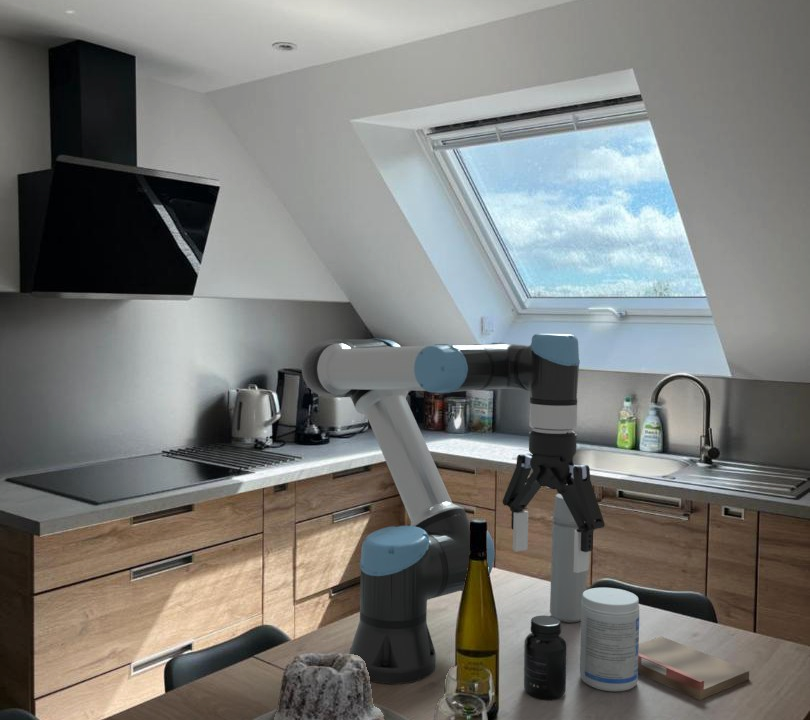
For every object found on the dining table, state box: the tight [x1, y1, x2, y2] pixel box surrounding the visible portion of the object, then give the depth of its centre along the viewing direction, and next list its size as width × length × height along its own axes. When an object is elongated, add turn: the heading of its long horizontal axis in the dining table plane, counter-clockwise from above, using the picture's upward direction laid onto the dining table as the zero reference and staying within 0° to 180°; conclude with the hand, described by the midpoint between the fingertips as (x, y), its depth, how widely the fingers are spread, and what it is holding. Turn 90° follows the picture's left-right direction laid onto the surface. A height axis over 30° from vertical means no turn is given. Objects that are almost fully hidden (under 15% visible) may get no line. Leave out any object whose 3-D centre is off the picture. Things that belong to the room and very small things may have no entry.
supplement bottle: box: [523, 614, 568, 701], centre depth 137 cm, size 7×7×12 cm
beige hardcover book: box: [638, 636, 750, 701], centre depth 146 cm, size 18×14×3 cm
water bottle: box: [549, 493, 588, 623], centre depth 171 cm, size 9×8×25 cm
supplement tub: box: [579, 587, 640, 692], centre depth 141 cm, size 10×10×15 cm
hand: (549, 560), depth 135 cm, fingers open, 13 cm apart
